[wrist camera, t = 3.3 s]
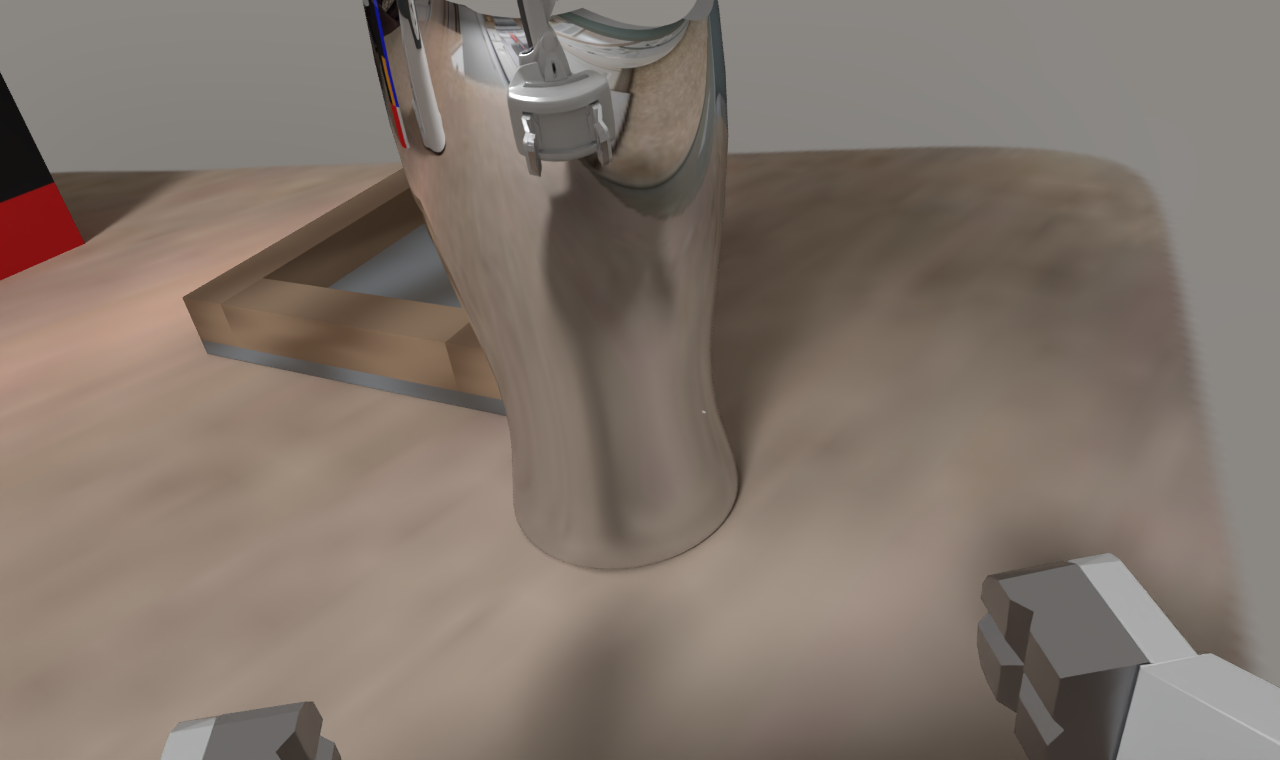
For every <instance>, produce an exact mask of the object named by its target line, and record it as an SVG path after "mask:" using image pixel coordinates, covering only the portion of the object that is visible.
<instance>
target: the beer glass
mask: <svg viewBox="0 0 1280 760" xmlns="http://www.w3.org/2000/svg"><path fill="white" fill-rule="evenodd" d="M363 6H364V10H365V16H366V21H367V25H368V30H369V35H370V40H371V45H372V50H373V55H374V60H375V65H376V68H377V73H378V77H379V81H380V85H381V89H382V94H383V98H384V101H385V106H386V110H387V114H388V118H389V122H390V126H391V129H392V133H393V136H394V139H395V142H396V145H397V149H398V152H399V155H400V158H401V162H402V165H403V168H404V171H405V175H406V178H407V181H408V184H409V187H410V190H411V192H412V195H413V197H414V200H415V202H416V205H417V207H418V210H419V212H420V215H421V217H422V219H423V222H424V224H425V227H426V229H427V232H428V234H429V237H430V239H431V241H432V244H433V246H434V248H435V251H436V253H437V255H438V257H439V259H440V261H441V263H442V266H443V268H444V270H445V272H446V274H447V276H448V278H449V280H450V283H451V285H452V287H453V289H454V291H455V293H456V295H457V298H458V300H459V302H460V304H461V306H462V308H463V310H464V312H465V314H466V316H467V318H468V320H469V322H470V325H471V327H472V329H473V331H474V333H475V335H476V337H477V339H478V341H479V343H480V345H481V348H482V350H483V352H484V354H485V357H486V359H487V361H488V364H489V366H490V368H491V370H492V373H493V375H494V377H495V379H496V382H497V385H498V388H499V391H500V395H501V398H502V401H503V404H504V407H505V411H506V416H507V421H508V426H509V430H510V438H511V448H512V479H513V505H514V511H515V516H516V519H517V522H518V524H519V526H520V528H521V530H522V531H523V533H524V535H525V536H526V537H527V539H528V540H529V541H530V542H531V543H532V544H533V545H534V546H535V547H537V548H538V549H539V550H541V551H542V552H544V553H545V554H547V555H549V556H551V557H553V558H555V559H557V560H560V561H562V562H565V563H568V564H572V565H576V566H580V567H586V568H593V569H628V568H635V567H641V566H646V565H650V564H654V563H658V562H661V561H664V560H667V559H670V558H672V557H675V556H677V555H679V554H681V553H683V552H685V551H687V550H689V549H691V548H692V547H694V546H696V545H697V544H699V543H700V542H702V541H703V540H705V539H706V538H707V537H708V536H710V535H711V534H712V533H713V532H714V531H715V530H716V529H717V528H718V527H719V526H720V525H721V524H722V523H723V521H724V520H725V519H726V517H727V516H728V514H729V513H730V511H731V509H732V507H733V505H734V502H735V499H736V496H737V490H738V472H737V466H736V462H735V458H734V455H733V451H732V448H731V445H730V442H729V439H728V436H727V433H726V430H725V427H724V424H723V421H722V418H721V415H720V411H719V408H718V404H717V399H716V395H715V389H714V382H713V374H712V331H713V318H714V306H715V296H716V287H717V277H718V268H719V259H720V249H721V239H722V228H723V218H724V208H725V196H726V174H727V152H728V120H727V96H726V74H725V73H726V72H725V61H724V52H723V42H722V32H721V23H720V13H719V5H718V0H363Z"/></svg>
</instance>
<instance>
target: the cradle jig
mask: <svg viewBox="0 0 1280 760" xmlns="http://www.w3.org/2000/svg"><path fill="white" fill-rule="evenodd" d="M182 298H183V300H184V302H185V304H186V307H187V309H188V311H189V313H190V316H191V318H192V320H193V322H194V325H195V327H196V329H197V331H198V334H199V336H200V338H201V340H202V343H203V345H204V347H205V349H206V352H207V354H212V355H217V356H222V357H226V358H231V359H236V360H241V361H246V362H250V363H255V364H260V365H265V366H270V367H274V368H279V369H284V370H289V371H294V372H298V373H303V374H308V375H313V376H318V377H322V378H327V379H332V380H337V381H342V382H346V383H351V384H356V385H361V386H366V387H370V388H375V389H380V390H385V391H390V392H394V393H399V394H404V395H409V396H414V397H418V398H423V399H428V400H433V401H438V402H442V403H447V404H452V405H457V406H462V407H466V408H471V409H476V410H481V411H486V412H490V413H495V414H500V415H505V416H506V411H505V407H504V404H503V401H502V398H501V395H500V391H499V388H498V385H497V382H496V379H495V377H494V375H493V373H492V370H491V368H490V366H489V364H488V361H487V359H486V357H485V354H484V352H483V350H482V348H481V345H480V343H479V341H478V339H477V337H476V335H475V333H474V331H473V329H472V327H471V325H470V322H469V320H468V318H467V316H466V314H465V312H464V310H463V308H462V306H461V304H460V302H459V300H458V298H457V295H456V293H455V291H454V289H453V287H452V285H451V283H450V280H449V278H448V276H447V274H446V272H445V270H444V268H443V266H442V263H441V261H440V259H439V257H438V255H437V253H436V251H435V248H434V246H433V244H432V241H431V239H430V237H429V234H428V232H427V229H426V227H425V224H424V222H423V219H422V217H421V215H420V212H419V210H418V207H417V205H416V202H415V200H414V197H413V195H412V192H411V190H410V187H409V184H408V181H407V178H406V175H405V171H404V168H403V169H401V170H399V171H398V172H396V173H394V174H392V175H391V176H389V177H387V178H386V179H384V180H382V181H381V182H379V183H377V184H375V185H374V186H372V187H370V188H369V189H367V190H365V191H363V192H362V193H360V194H358V195H357V196H355V197H353V198H351V199H350V200H348V201H346V202H345V203H343V204H341V205H340V206H338V207H336V208H334V209H333V210H331V211H329V212H328V213H326V214H324V215H322V216H321V217H319V218H317V219H316V220H314V221H312V222H310V223H309V224H307V225H305V226H304V227H302V228H300V229H299V230H297V231H295V232H293V233H292V234H290V235H288V236H287V237H285V238H283V239H281V240H280V241H278V242H276V243H275V244H273V245H271V246H269V247H268V248H266V249H264V250H263V251H261V252H259V253H257V254H256V255H254V256H252V257H251V258H249V259H247V260H246V261H244V262H242V263H240V264H239V265H237V266H235V267H234V268H232V269H230V270H228V271H227V272H225V273H223V274H222V275H220V276H218V277H216V278H215V279H213V280H211V281H210V282H208V283H206V284H205V285H203V286H201V287H199V288H198V289H196V290H194V291H193V292H191V293H189V294H187V295H186V296H184V297H182Z"/></svg>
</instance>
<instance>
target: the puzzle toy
mask: <svg viewBox="0 0 1280 760" xmlns="http://www.w3.org/2000/svg"><path fill="white" fill-rule="evenodd" d="M83 244H85V243H84V241H83V239H82V237H81V235H80V233H79V231H78V229H77V227H76V225H75V223H74V221H73V219H72V217H71V215H70V213H69V211H68V209H67V207H66V205H65V203H64V201H63V199H62V197H61V195H60V193H59V191H58V188H57V186H56V184H55V182H54V180H53V178H52V176H51V174H50V172H49V170H48V168H47V166H46V164H45V162H44V160H43V158H42V156H41V154H40V152H39V150H38V148H37V146H36V144H35V142H34V140H33V138H32V136H31V134H30V132H29V130H28V128H27V126H26V124H25V121H24V119H23V117H22V115H21V113H20V111H19V109H18V107H17V105H16V103H15V101H14V99H13V97H12V95H11V93H10V91H9V89H8V87H7V85H6V83H5V81H4V79H3V77H2V75H1V73H0V280H2V279H5V278H7V277H9V276H12V275H14V274H16V273H18V272H21V271H23V270H25V269H28V268H30V267H32V266H34V265H37V264H39V263H41V262H44V261H46V260H48V259H51V258H53V257H55V256H57V255H60V254H62V253H64V252H67V251H69V250H71V249H74V248H76V247H78V246H80V245H83Z"/></svg>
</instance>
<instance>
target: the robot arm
mask: <svg viewBox="0 0 1280 760" xmlns="http://www.w3.org/2000/svg"><path fill="white" fill-rule="evenodd" d="M981 600H982V601H983V603H984V605H985V607H986V608H987V610H988V613H987V615H986V616H985V617H984V618H983V619H982V620H981V621H980V622H979V623H978V631H977V648H978V653H979V658H980V664H981V667H982V670H983V673H984V675H985V678H986V680H987V683H988V685H989V687H990V689H991V691H992V692H993V694H994V696H995V698H996V700H997V701H998V702H1000V703H1001V704H1003V705H1004V706H1006V707H1008V708H1009V709H1011V710H1012V711H1014V712H1016V713H1017V715H1016V722H1015V729H1014V733H1015V735H1016V737H1017V739H1018V740H1019V742H1020V744H1021V746H1022V748H1023V749H1024V751H1025V753H1026V755H1027V757H1028V758H1029V760H1280V688H1279V687H1277V686H1275V685H1273V684H1271V683H1269V682H1267V681H1265V680H1263V679H1262V678H1260V677H1258V676H1256V675H1254V674H1252V673H1250V672H1248V671H1246V670H1244V669H1242V668H1240V667H1238V666H1236V665H1234V664H1232V663H1230V662H1228V661H1226V660H1224V659H1222V658H1220V657H1218V656H1216V655H1214V654H1212V653H1207V654H1200V655H1198V654H1197V653H1196V651H1195V650H1194V649H1193V648H1192V646H1191V645H1190V644H1189V643H1188V642H1187V640H1186V639H1185V638H1184V637H1183V636H1182V634H1181V633H1180V632H1179V631H1178V629H1177V628H1176V627H1175V626H1174V625H1173V623H1172V622H1171V621H1170V620H1169V618H1168V617H1167V616H1166V615H1165V614H1164V612H1163V611H1162V610H1161V609H1160V608H1159V606H1158V605H1157V604H1156V603H1155V601H1154V600H1153V599H1152V598H1151V597H1150V595H1149V594H1148V593H1147V592H1146V591H1145V589H1144V588H1143V587H1142V586H1141V584H1140V583H1139V582H1138V581H1137V580H1136V578H1135V577H1134V576H1133V575H1132V573H1131V572H1130V571H1129V570H1128V569H1127V567H1126V566H1125V565H1124V564H1123V563H1122V561H1121V560H1120V559H1119V558H1118V557H1116V556H1114V555H1113V554H1111V553H1105V554H1100V555H1094V556H1089V557H1084V558H1078V559H1073V560H1069V561H1059V562H1054V563H1049V564H1044V565H1039V566H1034V567H1029V568H1024V569H1018V570H1013V571H1008V572H1003V573H998V574H993V575H988V576H987V577H986V579H985V580H984V582H983V584H982V592H981ZM322 722H323V718H322V717H321V715H320V713H319V711H318V709H317V708H316V706H315V704H314V702H300V703H293V704H287V705H281V706H274V707H268V708H261V709H255V710H249V711H242V712H236V713H230V714H223V715H220V716H214V717H207V718H201V719H195V720H189V721H183V722H179V723H178V725H177V726H176V727H175V728H174V729H173V731H172V732H171V733H170V735H169V736H168V739H167V741H166V744H165V747H164V750H163V752H162V755H161V758H160V760H341V756H340V754H339V752H338V749H337V747H336V745H335V743H334V742H332V741H330V740H328V739H326V738H324V737H322V736H320V732H321V727H322Z"/></svg>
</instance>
